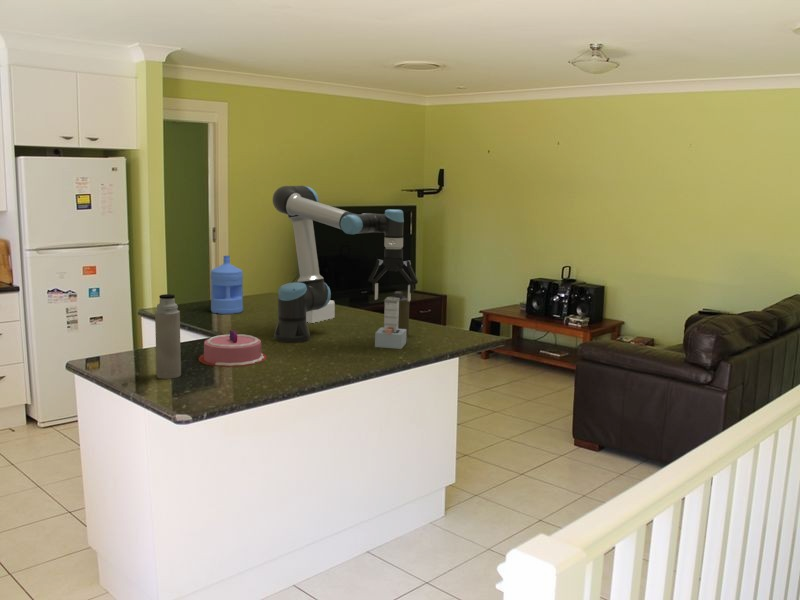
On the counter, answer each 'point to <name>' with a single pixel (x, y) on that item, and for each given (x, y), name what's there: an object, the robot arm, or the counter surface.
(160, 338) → the thermos bottle
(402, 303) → the canister
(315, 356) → the counter surface
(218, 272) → the water jug
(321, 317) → the white box
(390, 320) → the column
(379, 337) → the stand base
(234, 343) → the cake
